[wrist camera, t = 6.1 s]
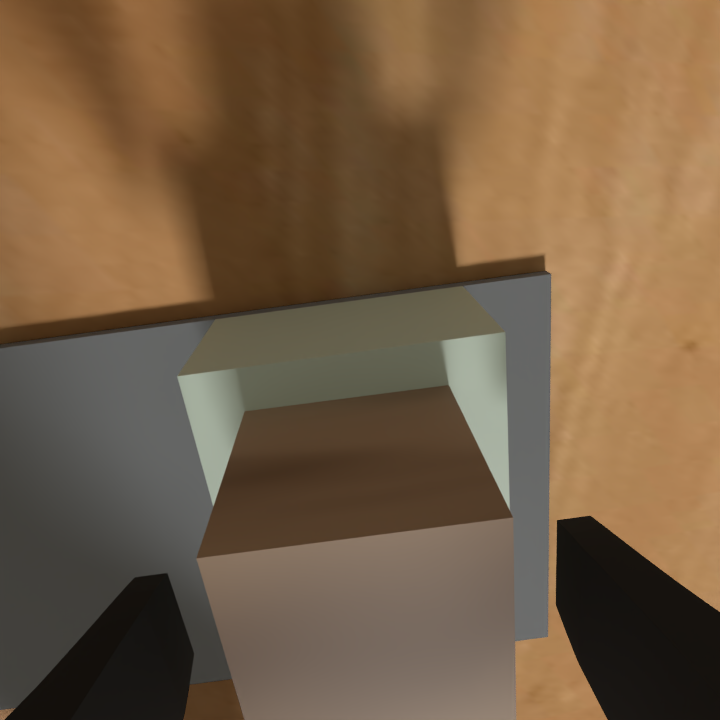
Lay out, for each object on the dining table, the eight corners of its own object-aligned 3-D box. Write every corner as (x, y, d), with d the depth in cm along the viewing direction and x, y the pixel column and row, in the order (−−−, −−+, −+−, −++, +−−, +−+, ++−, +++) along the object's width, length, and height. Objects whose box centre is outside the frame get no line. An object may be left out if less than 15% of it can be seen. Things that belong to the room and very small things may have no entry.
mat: (544, 627, 21) (547, 636, 20) (-23, 703, 21) (-29, 713, 20) (545, 271, 15) (551, 273, 15) (-213, 373, 15) (-226, 378, 15)
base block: (473, 492, 18) (511, 584, 14) (263, 520, 18) (245, 620, 14) (462, 285, 15) (505, 332, 11) (215, 319, 15) (176, 376, 11)
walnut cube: (458, 547, 13) (516, 729, 9) (280, 570, 13) (257, 762, 9) (449, 385, 12) (512, 517, 8) (244, 411, 12) (196, 558, 8)
